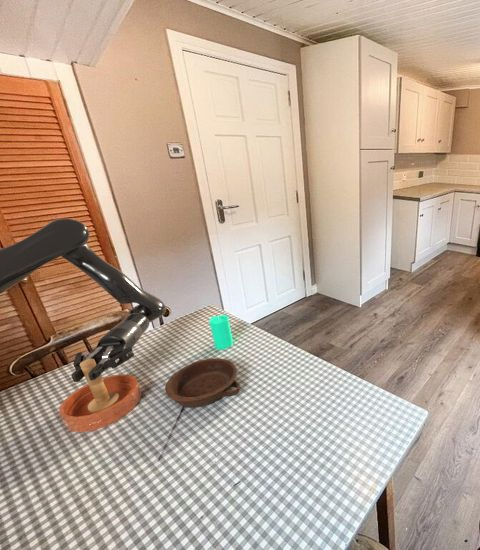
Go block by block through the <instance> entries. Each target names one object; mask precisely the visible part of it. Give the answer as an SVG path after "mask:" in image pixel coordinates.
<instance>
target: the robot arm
mask: <svg viewBox="0 0 480 550" xmlns="http://www.w3.org/2000/svg"><path fill="white" fill-rule="evenodd" d="M89 240H90V231H89V229H88V227H87V226H86V224H84V223H83V222H81V221H79V220H77V219H74V218H57V219H54V220H51V221H50V222H48V223H47V224H45V225H44V226H43V227H41V228H40V229H38V230H37V231H35V232H33V233H32V234H30V235H29V236H27V237H26V238H24V239H21V240H20V241H18V242H16V243H13V244H11V245H8V246H5V247H2V248H0V295H1V294H3V293H5V292H6V291H8V290H9V289H11V288H12V287H14V286H16V285H18V284H19V283H21V281H23V280H24V279H26V278H27V277H29V276H30V275H31V274H33V273H34V272H36V271H37V270H38V269H40V268H41V267H43V266H45V265H46V264H48V263H50V262H52V261H54V260H57V259H58V258H60V257H61V258H62V259H64V260H66V261H67V262H69V263H70V264H72V265H74V267H75V268H77V269H79V270H80V271H81V272H83V273H84V274H85V275H86V276H88V277H89V278H90V279H91V280H93V281H94V283H96V284H97V285H98V286H99V287H100V288H101V289H103V290H104V291H105V292H107V294H109V295H110V296H111V297H112V298H113V299H114V300H115V301H117V302H118V303H119V304H121V305H128V304H137V305H135V306H133V307H132V308H130V309H129V310H128V312H127V313H126V315H125V316H124V318H123V319H122V320H121V321H120V322H119V323H118V324H115V325H114V326H113V327H112V328H111V329H110V330H109V331H107V332H106V334H104V335H103V336H102V337H101V338H100V339H99V340H98V342H97V344H96V347H95V348H93V349H90V350H89V352H86V353H83V352H77V353H76V354H75V357H74V359H73V364H72V365H73V367H74V369H75V371H74V372H73V373H72V374H71V379H72V381H73V382H74V383H79V382H80V381H81V380H82V379H83V378H85V376H84V374H83V371H82V369H81V367H80V363H81V362H83V361H85V360H88V359H94V360H95V362H96V366H95V367H94V368H93V369H92V370H91V371H90V372H89V373H88V376H89V378H90V380H95V379H96V378H98V377H99V376H100V375H101V376H102V374H103V373H104V372H105V371H108V370H109V369H110V368H111V369H116V368H118V367H119V366H121V365H122V364H124V363H125V362H127V361H129V360H130V359H131V358H133V357H134V356H135V353H134V350H133V347H134V346H135V345H136V344H137V343H138V342H139V341H140V339H141V337H142V336H143V334H144V333H146V331H147V330H148V328H149V327H150V323H151V322H153V321H155V320H157V319H159V318H161V317H162V316H164V315H165V314H166V312H167V308H166V307H167V306H166V305H165V303H164V301H163V300H161V299H160V298H159V297H157V296H155V295H153V294H151V293H150V292H148V291H146V290H144V289H142V288H140V287H139V286H138V285H137V284H136V283H135V282H134V280H132V279H131V278H129V277H128V276H127V275H126V274H125V273H124V272H123V271H121V270H120V269H118V268H117V267H115V266H114V265H112V264H110V263H109V262H107V261H106V260H104V259H103V258H102V257H100V256H99V255H98V254H97V253H95V251H94V250H93V249H92V248H90V246H89V245H88V244H87V243H88V241H89ZM117 360H118V361H117Z"/></svg>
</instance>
